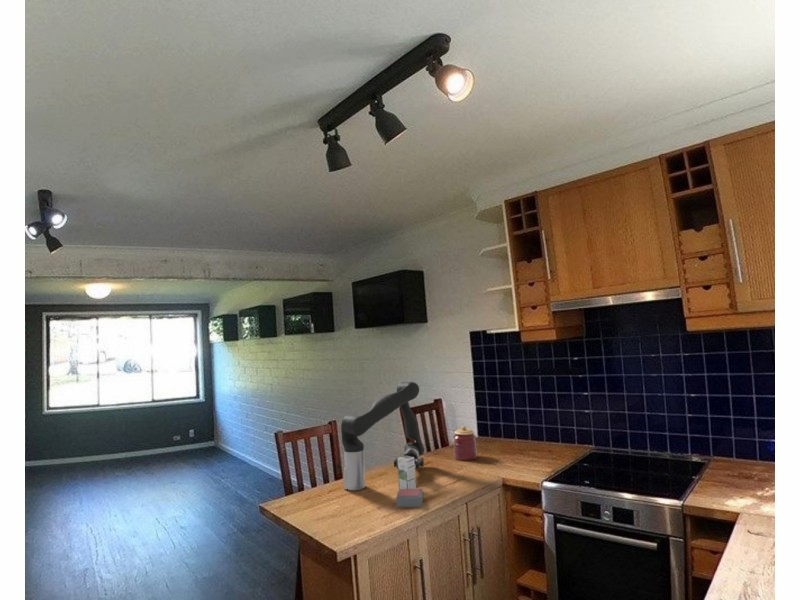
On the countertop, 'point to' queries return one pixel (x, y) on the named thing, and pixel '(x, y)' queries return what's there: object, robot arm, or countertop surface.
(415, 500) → the display plinth
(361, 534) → the countertop surface
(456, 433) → the canister
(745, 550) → the countertop surface
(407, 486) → the syrup box
